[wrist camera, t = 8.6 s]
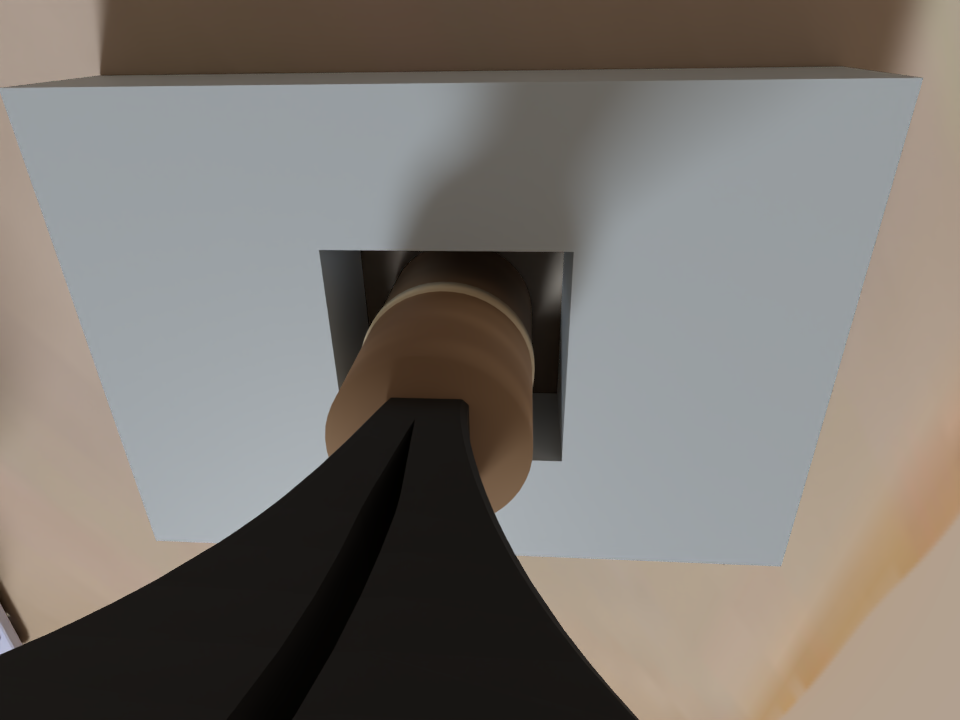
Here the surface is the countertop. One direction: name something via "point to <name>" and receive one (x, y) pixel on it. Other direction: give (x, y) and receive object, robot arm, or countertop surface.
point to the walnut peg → (452, 359)
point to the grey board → (477, 227)
